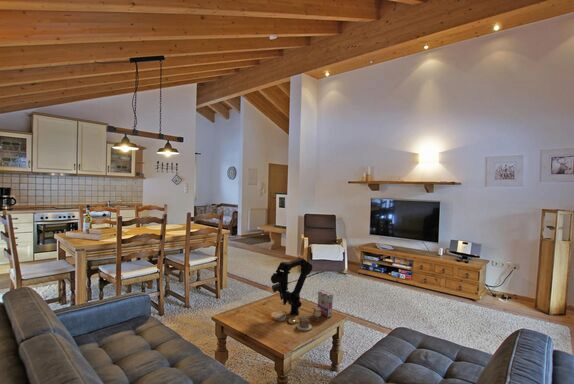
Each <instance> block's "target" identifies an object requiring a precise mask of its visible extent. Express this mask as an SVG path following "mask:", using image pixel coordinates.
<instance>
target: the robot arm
mask: <svg viewBox="0 0 574 384" xmlns="http://www.w3.org/2000/svg"><path fill="white" fill-rule="evenodd" d="M299 266H300V274H299V276H298V279H297V281H296V284H295V286H294V289H293V290H292V291H291V292H290V291H289V288H288V287H289V275H290V274H291V272H290V271H291V270H292V269H293V268H296V267H299ZM313 268H314V267H313V265H312V264H311V263H309V262H308V261H307V260H306V259H305V258H302V257H299V258H297V259H293V260H291V261H281V262H280V263H279V265H278V266H277V269H276V271H275V272H273V273H272V275H271V277H270V281H271V283H272V284H273V285H271V286H270V287H271V290H272V292H273V293H276V292H279V297H280V300H281V301H282V300H283V306H285V305H286V304H287V303H288V305H290V312H289V315H291V316H299V315H300V311H299V309H300V307H302V305H303V304H302V302H301V301H300V299H301V295H300V294H301V292H302V289H303V287H304V284H305V281H306V278H308V277H307V276H309V275H310V274H311V273H312V270H313Z"/></svg>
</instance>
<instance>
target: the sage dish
mask: <svg viewBox="0 0 574 384" xmlns="http://www.w3.org/2000/svg"><path fill="white" fill-rule="evenodd" d="M299 323H300V322H298V323H296V328H297V330H299V331H304V332H306V331H310V330H311V329H312V324H311V323H309V328H301V326H300V325H299Z"/></svg>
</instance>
